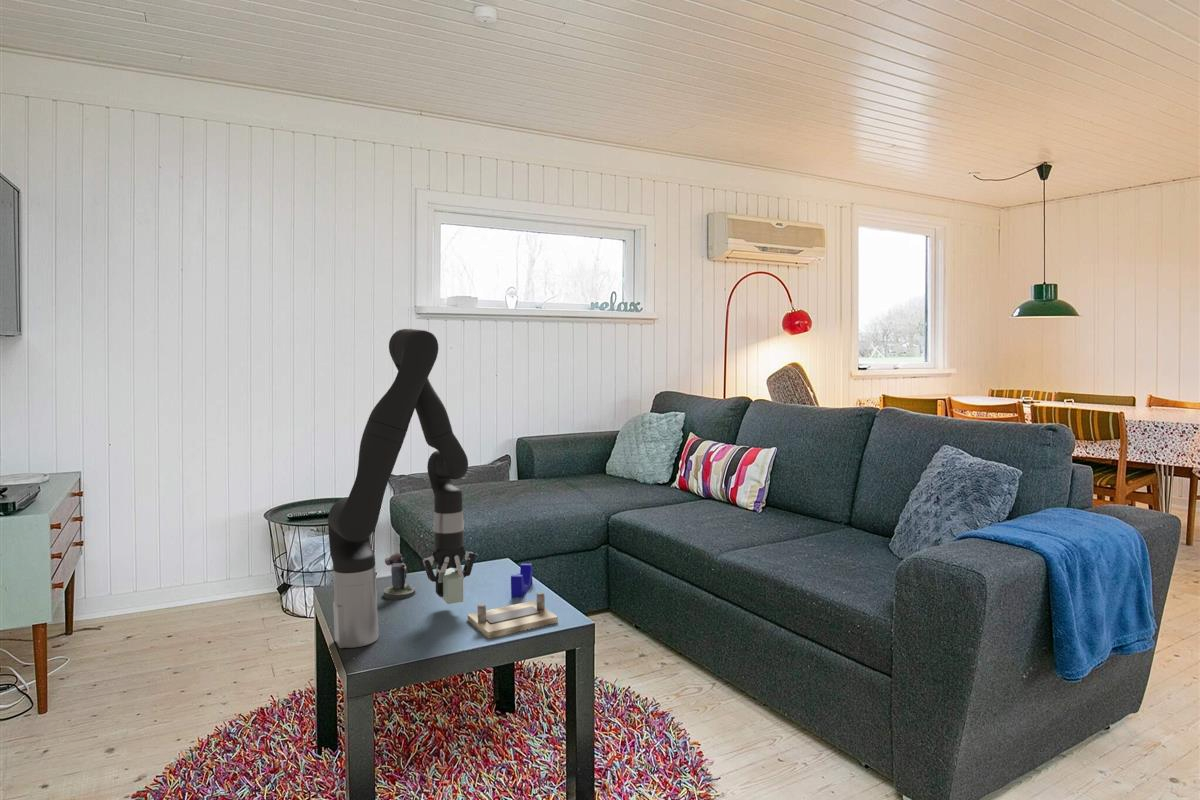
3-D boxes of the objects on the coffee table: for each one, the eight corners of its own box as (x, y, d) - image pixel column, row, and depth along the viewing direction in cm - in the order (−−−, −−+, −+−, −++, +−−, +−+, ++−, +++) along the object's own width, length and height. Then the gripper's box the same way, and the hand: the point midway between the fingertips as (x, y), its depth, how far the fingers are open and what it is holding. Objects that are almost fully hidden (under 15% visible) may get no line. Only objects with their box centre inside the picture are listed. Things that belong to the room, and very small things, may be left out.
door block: (463, 601, 181) (463, 578, 181) (447, 604, 179) (447, 580, 179) (451, 589, 191) (451, 567, 191) (436, 591, 189) (436, 569, 189)
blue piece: (517, 583, 207) (516, 563, 207) (532, 584, 207) (532, 563, 206) (506, 597, 196) (505, 576, 195) (522, 598, 195) (521, 576, 195)
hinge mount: (488, 638, 167) (487, 615, 166) (467, 620, 179) (466, 598, 178) (557, 622, 176) (557, 600, 175) (533, 606, 188) (533, 585, 187)
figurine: (396, 601, 194) (394, 557, 194) (377, 595, 199) (375, 553, 199) (421, 592, 201) (419, 550, 200) (402, 587, 206) (400, 546, 205)
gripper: (426, 535, 177) (427, 603, 178) (480, 528, 185) (481, 594, 185) (416, 529, 184) (417, 595, 185) (469, 522, 191) (470, 586, 192)
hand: (449, 594), depth 185 cm, fingers closed on door block, 4 cm apart
